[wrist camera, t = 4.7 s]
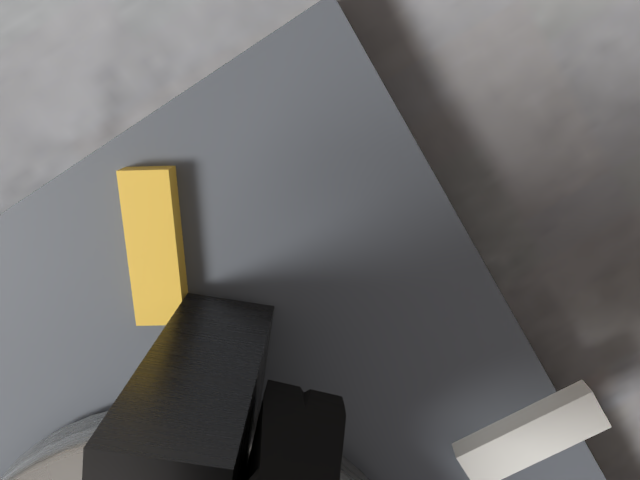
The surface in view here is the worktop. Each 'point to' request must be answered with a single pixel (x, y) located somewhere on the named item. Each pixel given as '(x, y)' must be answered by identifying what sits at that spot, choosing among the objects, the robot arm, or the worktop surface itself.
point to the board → (284, 271)
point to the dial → (175, 406)
